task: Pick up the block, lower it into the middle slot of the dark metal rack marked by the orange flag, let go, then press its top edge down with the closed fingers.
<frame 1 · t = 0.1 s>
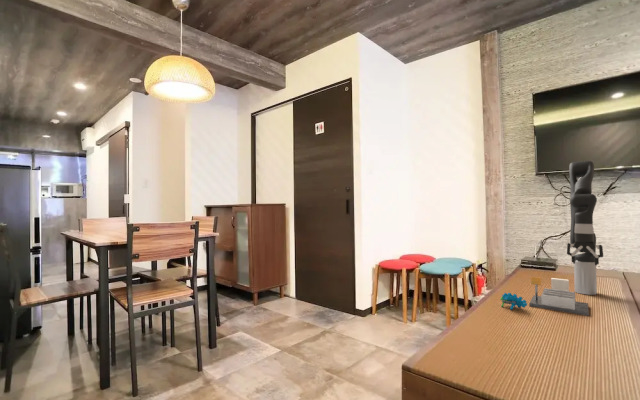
hand: (584, 264, 161), 17 cm above the table, tool pointing down, fingers open, 8 cm apart
rack: (558, 306, 147), on the table
blue bumpy plastic figure: (513, 308, 145), on the table
block: (560, 299, 159), on the table
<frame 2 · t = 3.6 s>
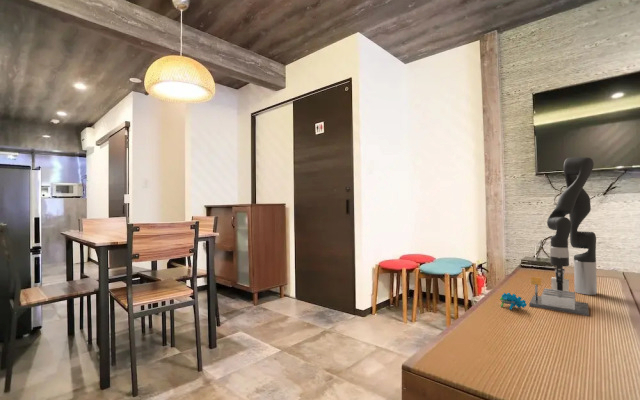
hand: (560, 289, 160), 5 cm above the table, tool pointing down, fingers closed on block, 2 cm apart
block: (559, 298, 160), on the table, touching gripper
everything else where it was.
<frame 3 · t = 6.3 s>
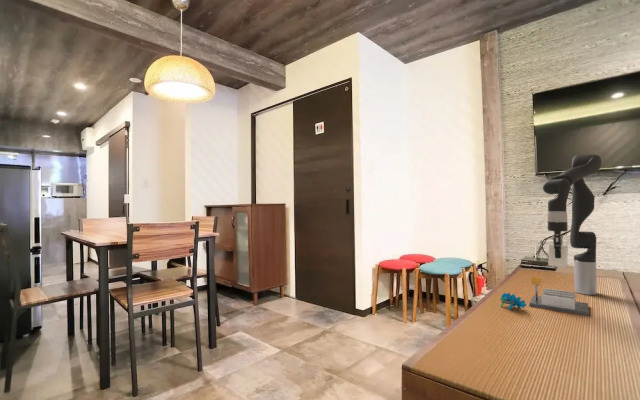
hand: (558, 257, 148), 23 cm above the table, tool pointing down, fingers closed on block
block: (557, 266, 148), point 19 cm above the table, touching gripper
everything else where it was.
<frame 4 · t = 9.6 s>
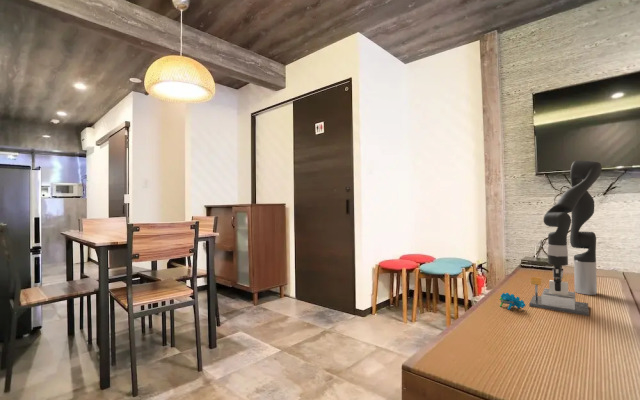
hand: (558, 289, 148), 8 cm above the table, tool pointing down, fingers open, 8 cm apart
block: (559, 302, 147), point 2 cm above the table, touching rack
everything else where it was.
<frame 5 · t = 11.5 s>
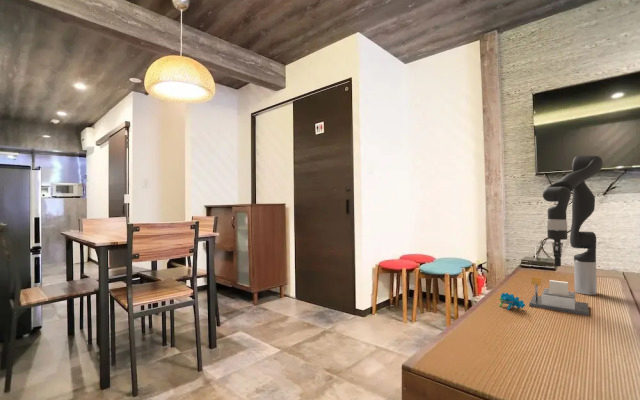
hand: (557, 265, 148), 19 cm above the table, tool pointing down, fingers closed
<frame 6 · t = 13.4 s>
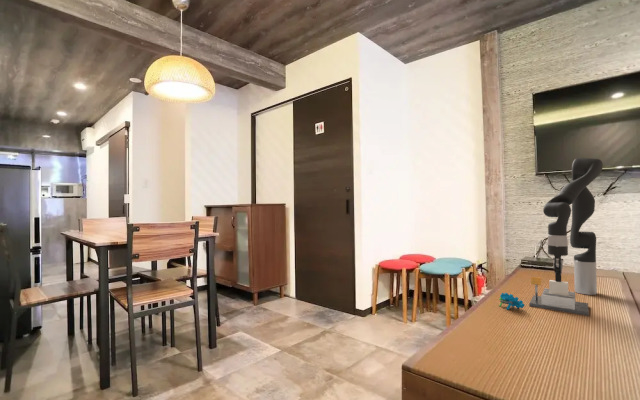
hand: (558, 281, 148), 12 cm above the table, tool pointing down, fingers closed
block: (559, 302, 147), point 2 cm above the table, touching gripper, rack
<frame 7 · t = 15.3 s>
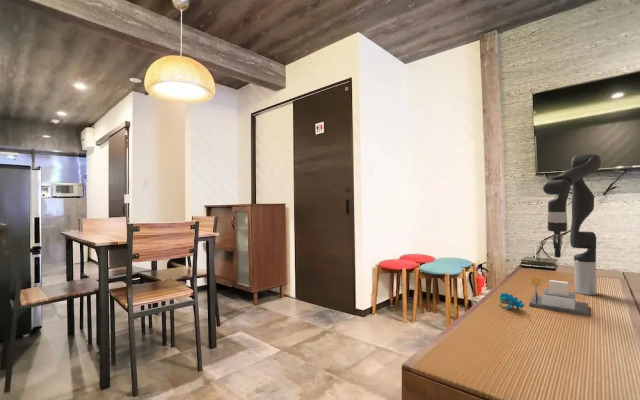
hand: (557, 257, 151), 22 cm above the table, tool pointing down, fingers closed
block: (559, 302, 147), point 2 cm above the table, touching rack
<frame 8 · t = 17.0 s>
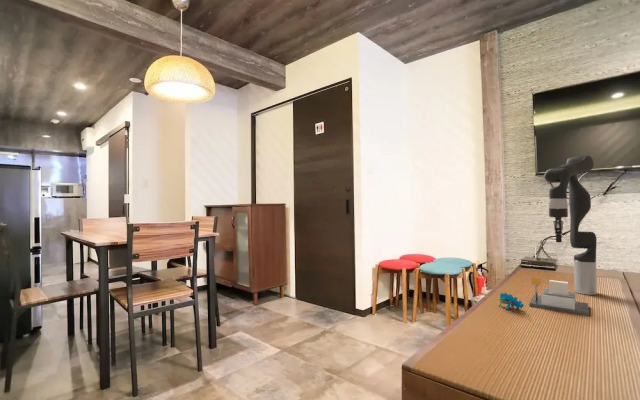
hand: (558, 242, 158), 29 cm above the table, tool pointing down, fingers closed
at the end: block 0.1 cm off-centre on the rack, point 1.6 cm above the rack's base; block tilted 0°; the gripper is holding nothing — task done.
